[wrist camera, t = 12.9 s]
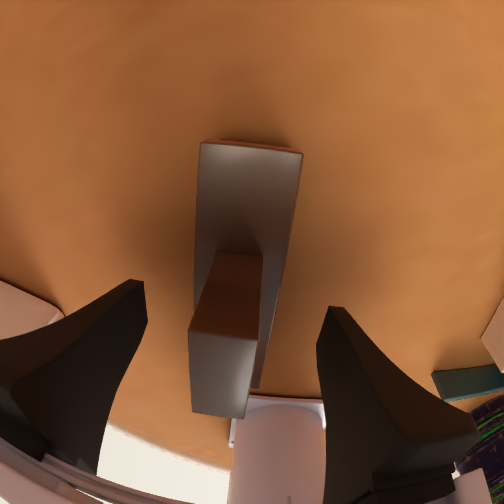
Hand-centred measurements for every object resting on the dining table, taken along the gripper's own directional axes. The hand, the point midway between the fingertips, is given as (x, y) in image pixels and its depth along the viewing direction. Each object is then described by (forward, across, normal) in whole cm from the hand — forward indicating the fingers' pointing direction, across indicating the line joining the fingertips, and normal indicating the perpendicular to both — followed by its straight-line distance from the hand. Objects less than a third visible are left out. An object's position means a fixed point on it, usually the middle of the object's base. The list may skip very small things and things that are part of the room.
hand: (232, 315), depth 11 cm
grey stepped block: (+5, 0, 0) cm, 5 cm away
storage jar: (+5, -32, +19) cm, 37 cm away
